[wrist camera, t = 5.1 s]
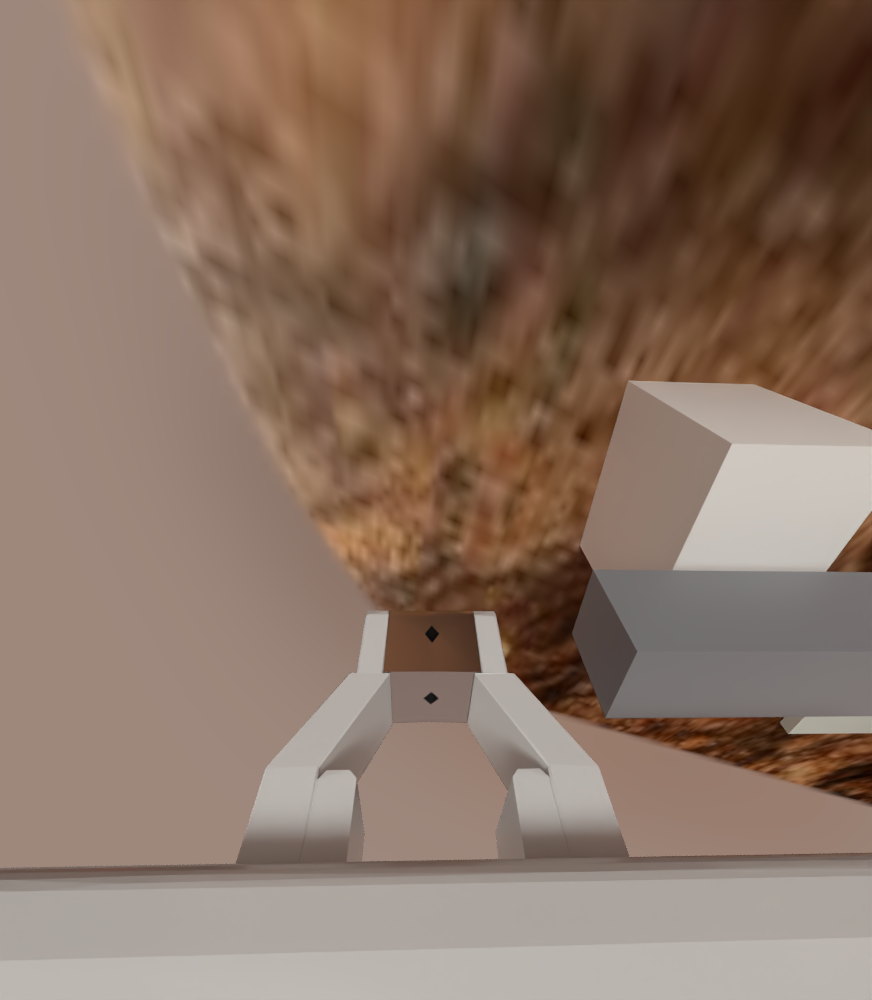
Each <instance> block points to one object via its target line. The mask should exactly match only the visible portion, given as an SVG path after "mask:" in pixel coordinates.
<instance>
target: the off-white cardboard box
mask: <svg viewBox="0 0 872 1000" xmlns="http://www.w3.org/2000/svg"><path fill="white" fill-rule="evenodd" d="M871 511H872V430H871V429H869V428H866V427H863V426H861V425H858V424H856V423H853V422H850V421H848V420H845V419H843V418H840V417H837V416H835V415H832V414H830V413H827V412H824V411H822V410H819V409H817V408H814V407H811V406H809V405H806V404H804V403H801V402H799V401H796V400H793V399H791V398H788V397H786V396H783V395H780V394H778V393H775V392H773V391H770V390H767V389H765V388H762V387H760V386H757V385H754V384H722V383H688V382H654V381H628V383H627V386H626V390H625V393H624V396H623V400H622V403H621V407H620V410H619V413H618V417H617V420H616V424H615V427H614V431H613V434H612V437H611V441H610V444H609V448H608V451H607V454H606V458H605V461H604V465H603V468H602V472H601V475H600V478H599V482H598V485H597V489H596V492H595V495H594V499H593V502H592V506H591V509H590V513H589V516H588V519H587V523H586V526H585V530H584V533H583V536H582V540H581V543H580V547H581V549H582V551H583V552H584V554H585V556H586V558H587V560H588V562H589V563H590V565H591V567H592V569H593V570H682V571H790V572H826V571H827V569H828V568H829V567H830V565H831V564H832V563H833V561H834V560H835V559H836V557H837V556H838V555H839V553H840V552H841V551H842V549H843V548H844V547H845V545H846V544H847V543H848V541H849V540H850V539H851V537H852V536H853V535H854V533H855V532H856V531H857V529H858V528H859V527H860V525H861V524H862V523H863V521H864V520H865V519H866V517H867V516H868V515H869V513H870V512H871Z"/></svg>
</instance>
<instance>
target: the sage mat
mask: <svg viewBox="0 0 872 1000" xmlns="http://www.w3.org/2000/svg"><path fill="white" fill-rule="evenodd" d="M779 723H780V724H781V725H782V726H783V728H784V729H785V730H786V732H787V733H788V734H831V733H872V716H837V717H784V718H783V719H782V720H781V721H780V722H779Z"/></svg>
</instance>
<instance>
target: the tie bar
mask: <svg viewBox="0 0 872 1000" xmlns="http://www.w3.org/2000/svg"><path fill="white" fill-rule="evenodd" d="M572 635H573V637H574V640H575V643H576V645H577V648H578V650H579V653H580V655H581V658H582V660H583V663H584V665H585V668H586V670H587V673H588V675H589V678H590V680H591V683H592V686H593V688H594V691H595V693H596V696H597V698H598V701H599V703H600V706H601V708H602V711H603V713H604V716H605V718H703V717H837V716H872V572H790V571H682V570H593V571H592V574H591V577H590V580H589V583H588V586H587V589H586V592H585V595H584V598H583V601H582V604H581V607H580V610H579V614H578V617H577V620H576V623H575V626H574V629H573V632H572Z"/></svg>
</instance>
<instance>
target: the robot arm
mask: <svg viewBox="0 0 872 1000" xmlns="http://www.w3.org/2000/svg"><path fill="white" fill-rule="evenodd" d="M405 722H459V723H460V722H461V723H462V722H463V723H467V725H468V727H469V728H470V730H471V732H472V733H473V735H474V737H475V738H476V740H477V741H478V743H479V745H480V746H481V748H482V750H483V751H484V753H485V754H486V756H487V758H488V759H489V761H490V762H491V764H492V766H493V767H494V769H495V771H496V772H497V774H498V776H499V777H500V779H501V780H502V782H503V784H504V785H505V787H506V788H507V790H508V793H507V797H506V800H505V803H504V806H503V809H502V813H501V816H500V819H499V822H498V825H497V829H496V840H497V848H498V857H499V859H489V860H488V859H486V860H430V861H429V860H428V861H369V862H362V854H363V844H364V827H363V820H362V813H361V806H360V799H359V791H358V784H357V783H358V781H359V779H360V778H361V775H362V774H363V773H364V771H365V769H366V768H367V766H368V764H369V763H370V761H371V760H372V758H373V756H374V754H375V753H376V751H377V750H378V748H379V746H380V745H381V743H382V741H383V740H384V738H385V736H386V735H387V733H388V732H389V730H390V728H391V727H392V723H405ZM0 1000H872V853H841V854H839V853H836V854H779V855H778V854H777V855H725V856H724V855H721V856H720V855H718V856H663V857H662V856H661V857H629V854H628V851H627V848H626V846H625V842H624V839H623V837H622V834H621V831H620V828H619V825H618V822H617V819H616V816H615V813H614V810H613V807H612V804H611V801H610V798H609V795H608V792H607V790H606V787H605V784H604V781H603V778H602V775H601V772H600V769H599V766H598V765H597V764H596V763H595V762H594V761H593V760H592V759H591V757H590V756H589V755H588V754H587V753H586V752H585V751H584V750H583V749H582V748H581V747H580V745H579V744H578V743H577V742H576V741H575V740H574V739H573V738H572V737H571V735H570V734H569V733H568V732H567V731H566V730H565V729H564V728H563V727H562V725H561V724H560V723H559V722H558V721H557V720H556V719H555V718H554V717H553V716H552V714H551V713H550V712H549V711H548V710H547V709H546V708H545V707H544V706H543V704H542V703H541V702H540V701H539V700H538V699H537V698H536V697H535V696H534V695H533V693H532V692H531V691H530V690H529V689H528V688H527V687H526V686H525V685H524V684H523V682H522V681H521V680H520V679H519V678H518V677H517V676H516V675H515V674H514V673H508V672H507V667H506V662H505V657H504V653H503V648H502V643H501V638H500V633H499V628H498V623H497V618H496V614H495V613H494V611H473V612H472V611H431V612H426V611H397V610H368V612H367V614H366V619H365V624H364V630H363V636H362V642H361V648H360V654H359V660H358V666H357V672H356V673H349V674H348V675H347V677H346V678H345V679H344V680H343V681H342V682H341V683H340V685H339V686H338V687H337V688H336V689H335V690H334V692H332V694H331V695H330V696H329V697H328V698H327V699H326V700H325V702H324V703H323V704H322V705H321V706H320V707H319V708H318V709H317V711H316V712H315V713H314V714H313V715H312V716H311V717H310V718H309V720H308V721H307V722H306V723H305V724H304V725H303V726H302V728H301V729H300V730H299V731H298V732H297V733H296V734H295V736H294V737H293V738H292V739H291V740H290V741H289V742H288V744H287V745H286V746H285V747H284V748H283V749H282V750H281V752H279V754H278V755H277V756H276V757H275V758H274V759H273V760H272V762H271V763H270V764H269V765H268V766H267V767H266V769H265V772H264V776H263V779H262V782H261V785H260V788H259V791H258V794H257V798H256V801H255V804H254V807H253V810H252V813H251V817H250V820H249V823H248V826H247V829H246V833H245V835H244V839H243V842H242V845H241V848H240V852H239V854H238V858H237V861H236V864H198V865H197V864H196V865H195V864H194V865H142V866H141V865H138V866H82V867H81V866H77V867H21V868H20V867H19V868H0Z"/></svg>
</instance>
